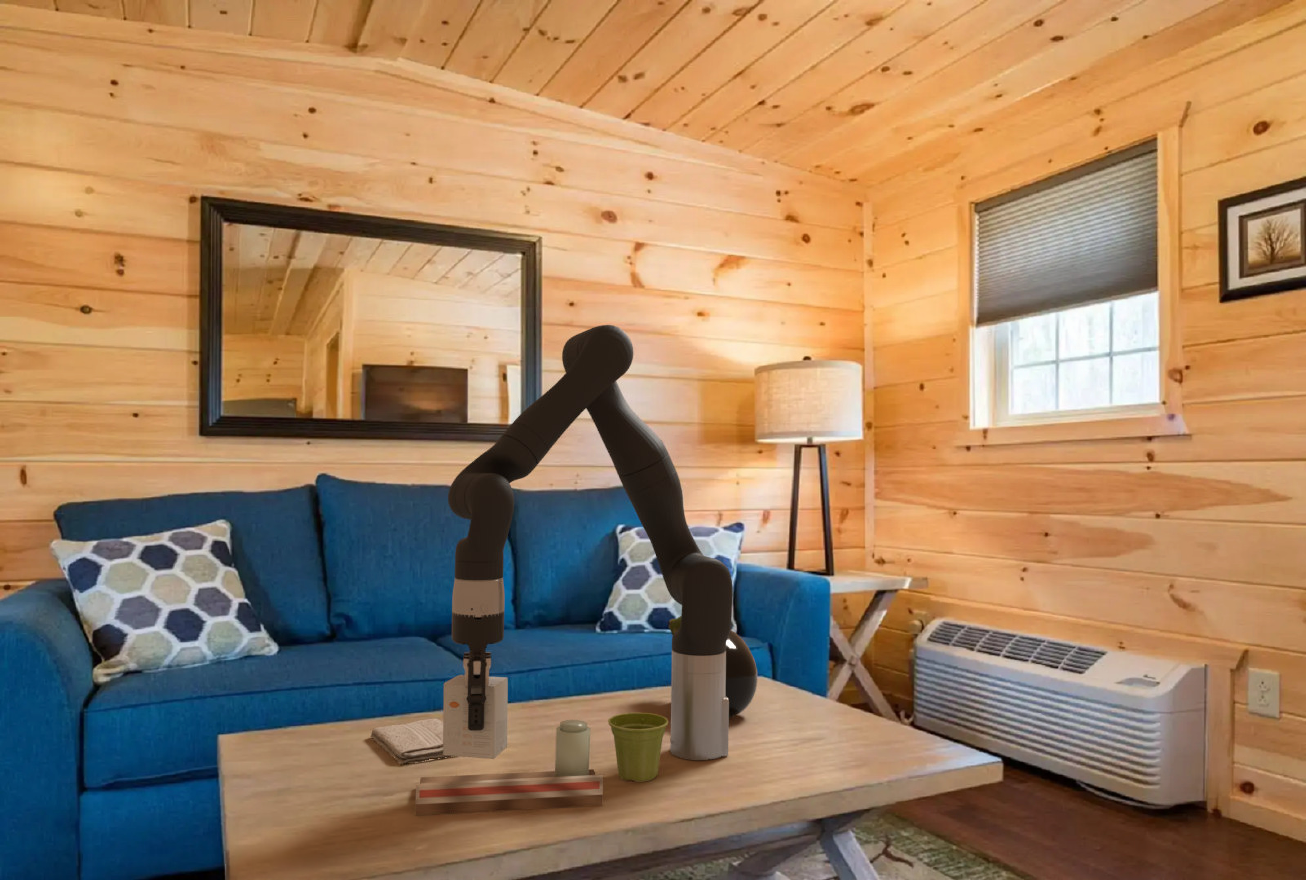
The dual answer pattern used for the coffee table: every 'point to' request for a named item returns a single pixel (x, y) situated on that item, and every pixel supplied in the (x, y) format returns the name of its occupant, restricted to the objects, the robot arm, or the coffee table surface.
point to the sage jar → (572, 748)
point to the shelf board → (506, 792)
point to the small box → (456, 719)
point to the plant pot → (638, 744)
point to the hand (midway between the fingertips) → (475, 722)
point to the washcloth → (412, 740)
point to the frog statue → (735, 671)
